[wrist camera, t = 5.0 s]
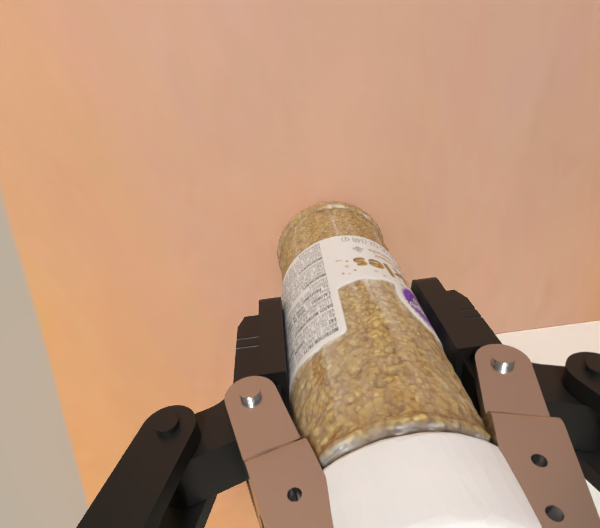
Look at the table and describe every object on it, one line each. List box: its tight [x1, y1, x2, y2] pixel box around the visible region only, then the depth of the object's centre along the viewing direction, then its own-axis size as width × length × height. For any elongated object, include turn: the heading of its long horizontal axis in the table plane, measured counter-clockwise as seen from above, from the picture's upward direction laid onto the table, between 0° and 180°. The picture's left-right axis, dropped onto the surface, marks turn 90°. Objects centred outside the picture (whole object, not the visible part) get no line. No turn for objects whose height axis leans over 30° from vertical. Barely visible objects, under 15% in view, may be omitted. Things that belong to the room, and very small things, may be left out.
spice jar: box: [277, 202, 542, 528], centre depth 13 cm, size 5×5×14 cm
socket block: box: [495, 321, 600, 517], centre depth 21 cm, size 18×10×6 cm, turn 96°
